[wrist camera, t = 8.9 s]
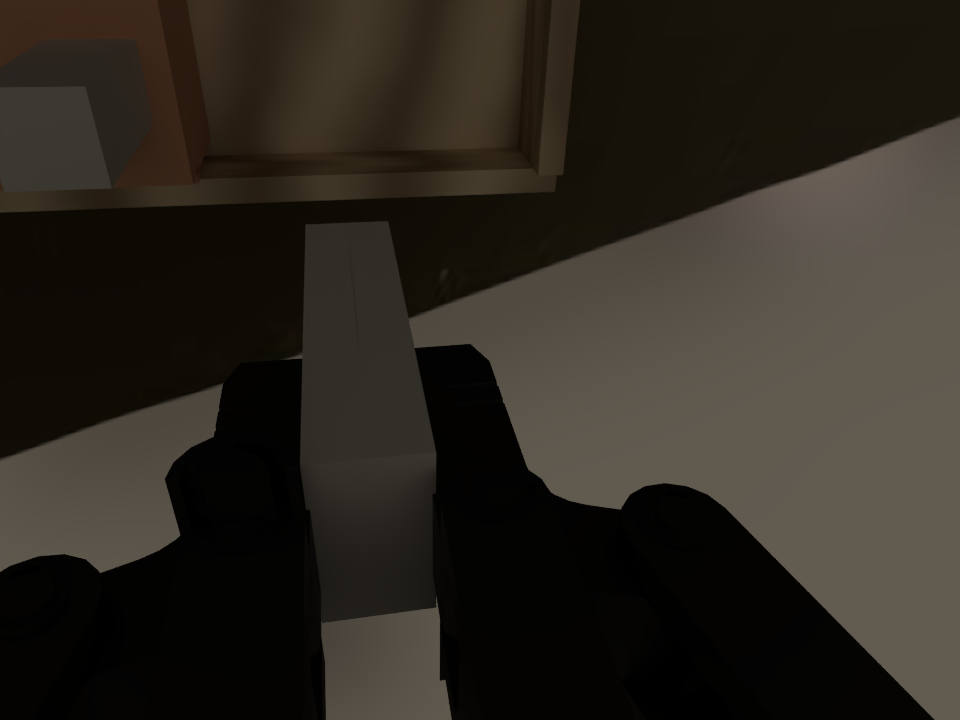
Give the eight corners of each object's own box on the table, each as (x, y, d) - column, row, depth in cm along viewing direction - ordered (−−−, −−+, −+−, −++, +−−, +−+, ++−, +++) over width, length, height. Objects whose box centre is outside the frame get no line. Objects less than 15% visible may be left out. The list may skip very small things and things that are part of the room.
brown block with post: (5, 152, 33) (-142, 286, 22) (-70, -70, 28) (-302, -32, 18) (211, 147, 35) (165, 270, 24) (175, -65, 30) (96, -27, 19)
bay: (-155, 185, 33) (-220, 230, 29) (-303, -129, 27) (-414, -128, 23) (535, 164, 39) (560, 199, 35) (555, -101, 32) (589, -96, 28)
